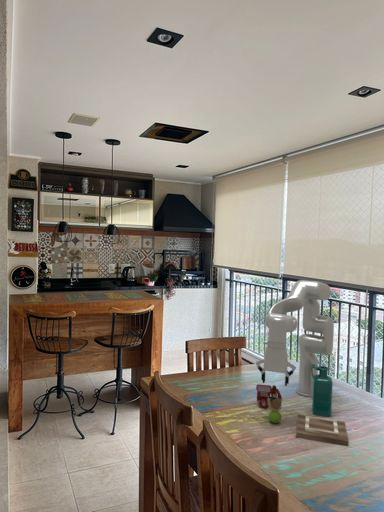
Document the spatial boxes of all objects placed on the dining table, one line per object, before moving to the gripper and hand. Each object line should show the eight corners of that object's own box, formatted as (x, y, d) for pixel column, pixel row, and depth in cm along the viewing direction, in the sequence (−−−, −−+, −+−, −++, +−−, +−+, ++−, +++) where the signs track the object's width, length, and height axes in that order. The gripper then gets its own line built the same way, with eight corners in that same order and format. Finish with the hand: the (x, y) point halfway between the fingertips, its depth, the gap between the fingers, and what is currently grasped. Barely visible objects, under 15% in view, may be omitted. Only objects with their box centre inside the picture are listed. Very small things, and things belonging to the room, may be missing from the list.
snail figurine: (264, 419, 173) (265, 393, 173) (278, 419, 174) (279, 393, 173) (268, 425, 168) (269, 398, 168) (282, 425, 168) (283, 398, 168)
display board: (297, 418, 176) (297, 412, 175) (344, 426, 170) (344, 419, 170) (295, 437, 158) (296, 429, 158) (348, 446, 152) (348, 438, 152)
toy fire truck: (282, 410, 184) (283, 388, 184) (256, 408, 185) (256, 386, 185) (280, 404, 191) (281, 383, 191) (255, 402, 192) (256, 381, 192)
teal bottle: (330, 410, 185) (332, 365, 185) (331, 417, 177) (333, 370, 177) (309, 407, 189) (311, 362, 188) (309, 414, 181) (311, 367, 180)
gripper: (255, 344, 169) (254, 383, 169) (296, 349, 164) (294, 389, 164) (258, 341, 176) (256, 378, 176) (297, 345, 171) (295, 383, 171)
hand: (274, 383), depth 170 cm, fingers open, 9 cm apart
